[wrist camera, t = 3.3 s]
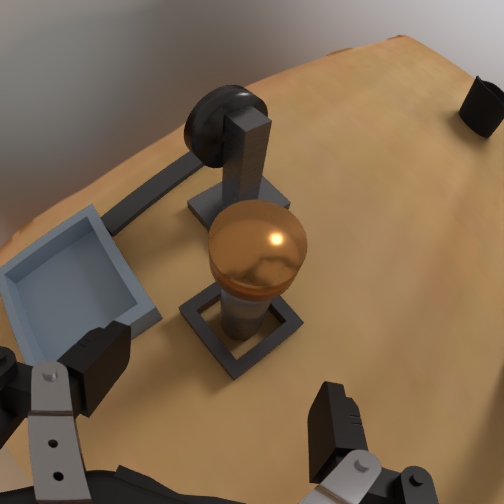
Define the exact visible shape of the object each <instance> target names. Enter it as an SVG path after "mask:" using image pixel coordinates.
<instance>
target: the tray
mask: <svg viewBox="0 0 504 504" xmlns="http://www.w3.org/2000/svg"><path fill="white" fill-rule="evenodd" d="M0 293H1V296H2V300H3V303H4V306H5V309H6V312H7V315H8V318H9V321H10V324H11V327H12V330H13V333H14V336H15V338H16V341H17V343H18V346H19V349H20V351H21V354H22V356H23V358H24V361H25V363H26V365H30V366H35V365H36V364H37V363H39V362H41V361H45V360H53V361H57V360H58V359H59V358H60V357H61V356H62V355H63V354H64V353H65V352H66V351H67V350H69V349H70V348H71V347H72V346H73V345H74V344H76V343H77V341H78V340H80V339H82V337H83V336H84V335H85V334H86V333H87V332H88V331H90V330H93V329H95V328H98V327H101V328H105V327H106V326H107V325H108V324H109V323H110V322H112V321H113V320H115V321H118V322H120V323H123V324H126V325H128V326H130V327H131V340H132V339H133V338H135V337H136V336H138V335H139V334H141V333H142V332H144V331H145V330H147V329H148V328H149V327H151V326H152V325H154V324H155V323H157V322H158V321H160V320H161V319H163V318H162V317H161V315H160V313H159V312H158V310H157V308H156V306H155V305H154V304H153V302H152V301H151V299H150V298H149V296H148V295H147V293H146V292H145V290H144V289H143V287H142V286H141V284H140V283H139V281H138V279H137V278H136V276H135V275H134V273H133V272H132V270H131V269H130V267H129V265H128V264H127V262H126V261H125V259H124V257H123V256H122V254H121V252H120V251H119V249H118V248H117V246H116V244H115V243H114V241H113V239H112V237H111V236H110V234H109V232H108V231H107V229H106V227H105V225H104V224H103V222H102V220H101V218H100V217H99V215H98V213H97V211H96V209H95V208H94V206H93V204H91V205H89V206H87V207H86V208H84V209H83V210H81V211H80V212H78V213H76V214H75V215H73V216H72V217H70V218H69V219H67V220H66V221H64V222H63V223H61V224H60V225H58V226H57V227H55V228H54V229H52V230H51V231H49V232H48V233H46V234H45V235H44V236H42V237H41V238H39V239H38V240H36V241H35V242H34V243H32V244H31V245H30V246H28V247H27V248H25V249H24V250H23V251H21V252H20V253H19V254H17V255H16V256H15V257H13V258H12V259H11V260H10V261H8V262H7V263H6V264H4V265H3V266H2V267H1V268H0Z"/></svg>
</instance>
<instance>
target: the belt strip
mask: <svg viewBox="0 0 504 504" xmlns="http://www.w3.org/2000/svg"><path fill="white" fill-rule="evenodd" d="M203 166H204V164H203V163H202V162H201V161H200V160H199V159H198V158H197V157H196V156H195V155H194V154H193V153H192V152H191V151H189V152H188V153H186V154H185V155H183V156H182V157H180V158H179V159H177V160H176V161H175V162H173V163H172V164H170V165H169V166H167V167H166V168H165V169H163V170H162V171H160V172H159V173H158V174H156V175H155V176H153V177H152V178H151V179H149V180H148V181H147V182H145V183H144V184H143V185H141V186H140V187H139V188H137V189H136V190H135V191H133V192H132V193H131V194H129V195H128V196H127V197H126V198H124V199H123V200H122V201H121V202H119V203H118V204H117V205H115V206H114V207H113V208H112V209H110V210H109V211H108V212H107V213H106V214H104V215H103V216H102V217H101V220H102V222H103V224H104V225H105V227H106V229H107V230H108V231H109V232H110V233H111V234H112V235H113V236H115V235H116V234H117V233H118V232H119V231H120V230H122V229H123V228H124V227H125V226H126V225H128V224H129V223H130V222H131V221H133V220H134V219H135V218H136V217H137V216H139V215H140V214H141V213H142V212H144V211H145V210H146V209H147V208H149V207H150V206H151V205H152V204H154V203H155V202H156V201H157V200H159V199H160V198H161V197H163V196H164V195H165V194H166V193H168V192H169V191H170V190H172V189H173V188H174V187H176V186H177V185H178V184H180V183H181V182H182V181H184V180H185V179H186V178H188V177H189V176H190V175H192V174H193V173H194V172H196V171H197V170H199V169H200V168H201V167H203Z"/></svg>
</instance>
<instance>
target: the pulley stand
mask: <svg viewBox="0 0 504 504" xmlns="http://www.w3.org/2000/svg"><path fill="white" fill-rule="evenodd" d="M271 123H272V120H270V119H269V118H268V111H267V107H266V104H265V103H264V101H263V100H261V99H260V98H259V97H257V96H256V95H254V94H253V93H251V92H250V91H248V90H247V89H245V88H244V87H242V86H239V85H226V86H223V87H219V88H217V89H215V90H213V91H211V92H210V93H208V94H207V95H206V96H205V97H203V98H202V99H201V100H200V101H199V102H198V103H197V104H196V106H195V107H194V108H193V110H192V111H191V113H190V115H189V117H188V119H187V121H186V124H185V128H184V141H185V144H186V146H187V148H188V149H189V150H190V151H191V152H192V153H193V154H194V155H195V156H196V157H197V158H198V159H199V160H200V161H201V162H202V163H203V164H204V165H206V166H208V167H211V168H221V167H223V178H222V182H220V183H218V184H216V185H215V186H213V187H211V188H209V189H207V190H206V191H204V192H202V193H200V194H198V195H197V196H195V197H193V198H191V199H190V200H188V201H187V204H188V208H189V209H190V210H191V211H192V213H193V214H194V215H195V216H196V217H197V218H198V220H199V221H200V222H201V223H202V224H203V226H204V227H205V228H206V229H207V230H208V231H210V228H211V225H212V223H213V221H214V220H215V218H216V217H217V216H218V214H219V213H220V212H222V211H223V210H224V209H225V208H227V207H228V206H230V205H232V204H235V203H237V202H241V201H245V200H264V201H269V202H272V203H275V204H278V205H280V206H282V207H284V208H285V209H289V206H290V203H291V202H290V201H289V200H288V199H287V198H285V197H284V196H283V195H282V194H281V193H280V192H279V191H278V190H277V189H276V188H275V187H274V186H273V185H272V184H271V183H270V182H269V181H268V180H266V179H265V178H264V177H263V176H262V173H263V168H264V162H265V156H266V151H267V145H268V140H269V134H270V129H271Z"/></svg>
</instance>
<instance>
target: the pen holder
mask: <svg viewBox="0 0 504 504" xmlns="http://www.w3.org/2000/svg"><path fill="white" fill-rule="evenodd" d="M459 112H460V116H461V118H462V119H463V121H464V122H465V123H466V124H467V125H468V126H469V127H470V128H471V129H472V130H474V131H475V132H476V133H478V134H480V135H481V136H484V137H490V136H491V135H492V133H493V132H494V131H495V130H496V128H497V127H498V126H499V124H500V123H501V122H502V120H503V119H504V92H503V91H502V90H501V89H500V88H499V87H497V86H496V85H495V84H493V83H490V82H487V81H483V80H481V79H480V78H479V76H476V79H475V81H474V83H473V85H472V87H471V89H470V91H469V92H468V94H467V96H466V98H465V100H464V102H463V104H462V106H461V108H460V111H459Z"/></svg>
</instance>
